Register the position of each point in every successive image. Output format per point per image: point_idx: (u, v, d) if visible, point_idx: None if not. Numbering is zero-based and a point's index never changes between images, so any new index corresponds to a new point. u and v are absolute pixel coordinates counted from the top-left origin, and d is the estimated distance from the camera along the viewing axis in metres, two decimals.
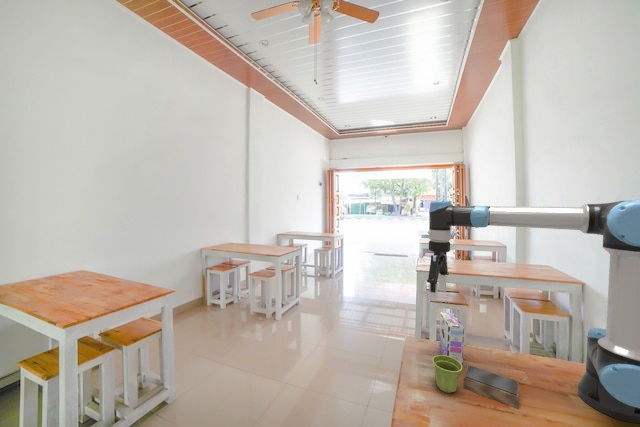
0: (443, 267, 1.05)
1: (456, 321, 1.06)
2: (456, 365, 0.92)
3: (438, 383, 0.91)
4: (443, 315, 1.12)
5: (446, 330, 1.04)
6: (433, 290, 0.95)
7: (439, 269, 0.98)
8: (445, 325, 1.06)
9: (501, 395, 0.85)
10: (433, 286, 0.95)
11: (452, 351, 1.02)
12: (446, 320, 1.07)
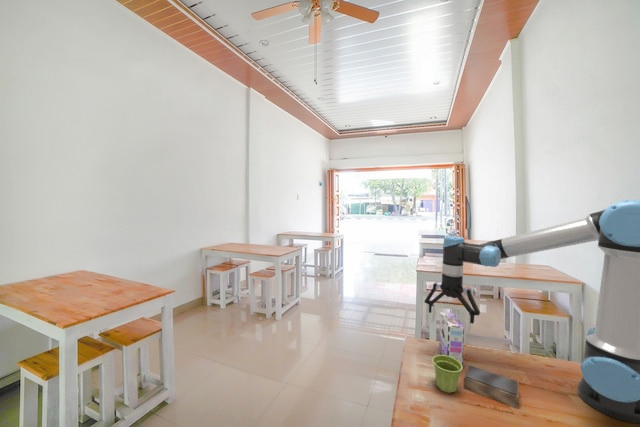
0: None
1: (456, 321, 1.06)
2: (456, 365, 0.92)
3: (438, 383, 0.91)
4: (443, 315, 1.12)
5: (446, 330, 1.04)
6: None
7: (439, 297, 1.10)
8: (445, 325, 1.06)
9: (501, 395, 0.85)
10: None
11: (452, 351, 1.02)
12: (446, 320, 1.07)
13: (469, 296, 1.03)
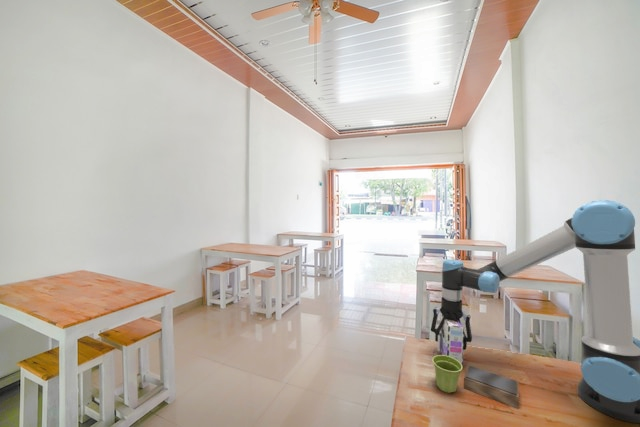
0: None
1: None
2: (456, 365, 0.92)
3: (438, 383, 0.91)
4: None
5: (446, 330, 1.04)
6: None
7: (442, 323, 1.09)
8: (445, 325, 1.06)
9: (501, 395, 0.85)
10: None
11: (452, 351, 1.02)
12: (446, 320, 1.07)
13: (467, 323, 1.04)
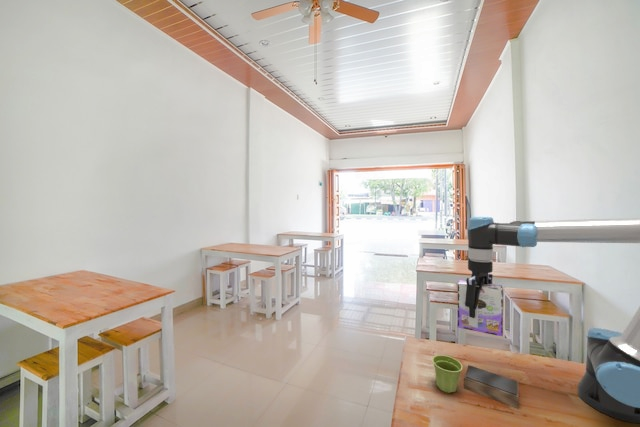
0: None
1: None
2: (456, 365, 0.92)
3: (438, 383, 0.91)
4: None
5: (494, 296, 0.90)
6: (472, 315, 0.92)
7: (479, 292, 0.92)
8: (489, 292, 0.91)
9: (501, 395, 0.85)
10: (472, 311, 0.92)
11: None
12: (484, 286, 0.92)
13: (491, 281, 0.97)
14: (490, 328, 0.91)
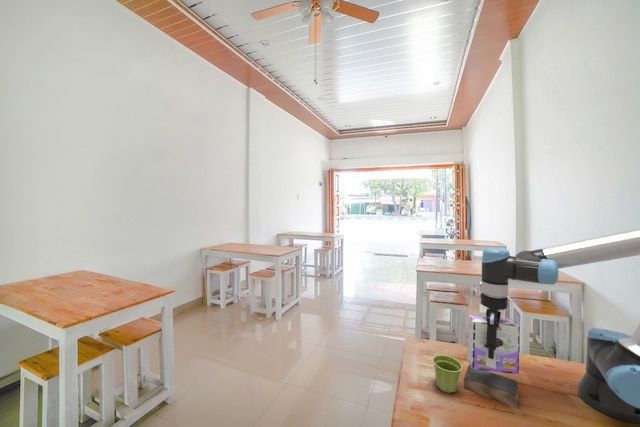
0: None
1: None
2: (456, 365, 0.92)
3: (438, 383, 0.91)
4: (484, 321, 0.88)
5: (512, 333, 0.86)
6: (491, 357, 0.85)
7: (496, 330, 0.86)
8: (506, 329, 0.86)
9: (501, 395, 0.85)
10: (491, 352, 0.85)
11: None
12: (501, 323, 0.87)
13: None
14: (507, 367, 0.86)
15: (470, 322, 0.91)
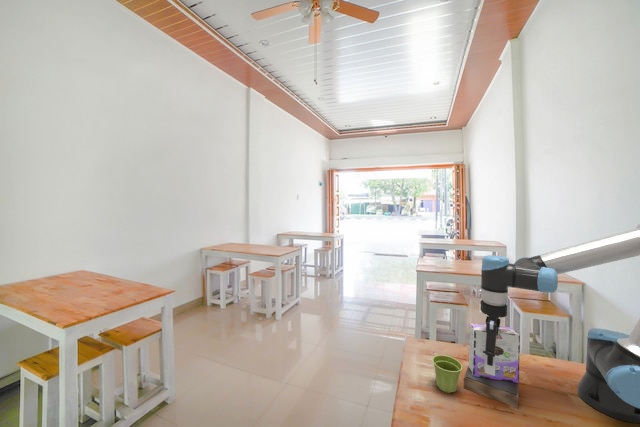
0: None
1: None
2: (456, 365, 0.92)
3: (438, 383, 0.91)
4: (485, 330, 0.90)
5: (512, 342, 0.88)
6: (491, 363, 0.83)
7: None
8: (506, 338, 0.88)
9: (501, 395, 0.85)
10: (491, 359, 0.83)
11: None
12: (501, 332, 0.89)
13: (498, 317, 0.94)
14: (507, 375, 0.88)
15: (471, 330, 0.93)
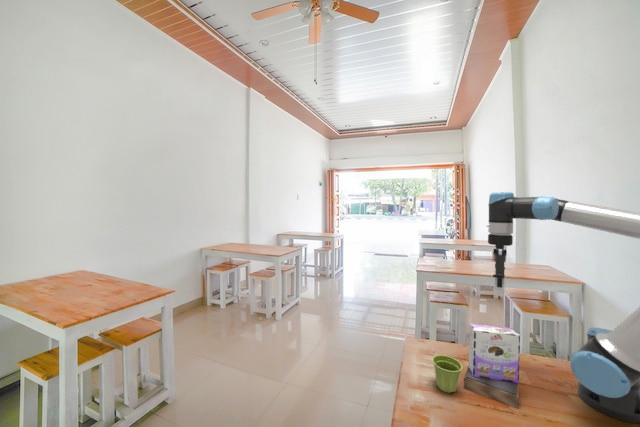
0: None
1: (498, 327, 0.92)
2: (456, 365, 0.92)
3: (438, 383, 0.91)
4: (485, 330, 0.90)
5: (512, 343, 0.88)
6: (500, 285, 0.91)
7: None
8: (506, 338, 0.88)
9: (501, 395, 0.85)
10: (500, 281, 0.91)
11: None
12: (501, 332, 0.89)
13: None
14: (507, 376, 0.88)
15: (471, 331, 0.93)
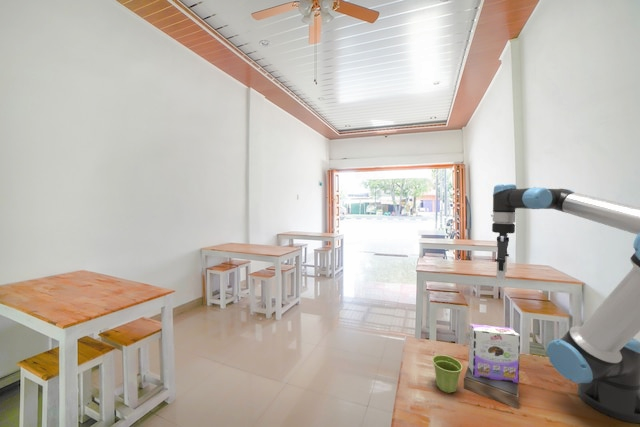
0: None
1: (498, 327, 0.92)
2: (456, 365, 0.92)
3: (438, 383, 0.91)
4: (485, 330, 0.90)
5: (512, 343, 0.88)
6: (501, 269, 1.00)
7: None
8: (506, 338, 0.88)
9: (501, 395, 0.85)
10: (501, 265, 1.00)
11: None
12: (501, 332, 0.89)
13: None
14: (507, 376, 0.88)
15: (471, 331, 0.93)
